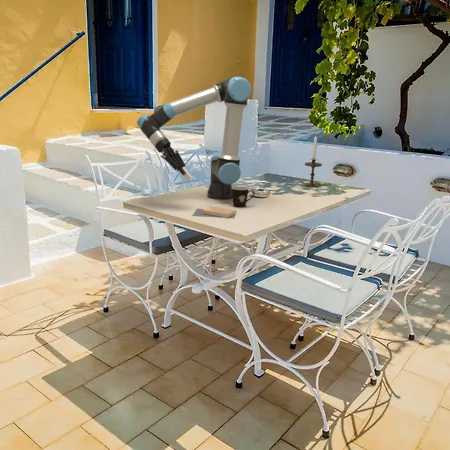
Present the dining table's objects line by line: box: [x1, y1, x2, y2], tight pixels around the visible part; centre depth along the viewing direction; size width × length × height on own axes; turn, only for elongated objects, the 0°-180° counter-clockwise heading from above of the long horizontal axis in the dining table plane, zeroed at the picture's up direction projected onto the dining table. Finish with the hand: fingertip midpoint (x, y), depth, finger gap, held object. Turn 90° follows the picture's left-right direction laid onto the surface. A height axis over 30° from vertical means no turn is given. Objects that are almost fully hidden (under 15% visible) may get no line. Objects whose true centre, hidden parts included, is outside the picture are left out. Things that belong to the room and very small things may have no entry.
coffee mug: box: [231, 186, 255, 209], centre depth 240 cm, size 12×9×10 cm
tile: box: [202, 205, 237, 219], centre depth 225 cm, size 9×2×14 cm
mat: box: [191, 208, 237, 219], centre depth 226 cm, size 14×20×1 cm
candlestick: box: [304, 131, 323, 188], centre depth 298 cm, size 11×11×35 cm
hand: (189, 179), depth 228 cm, fingers closed
